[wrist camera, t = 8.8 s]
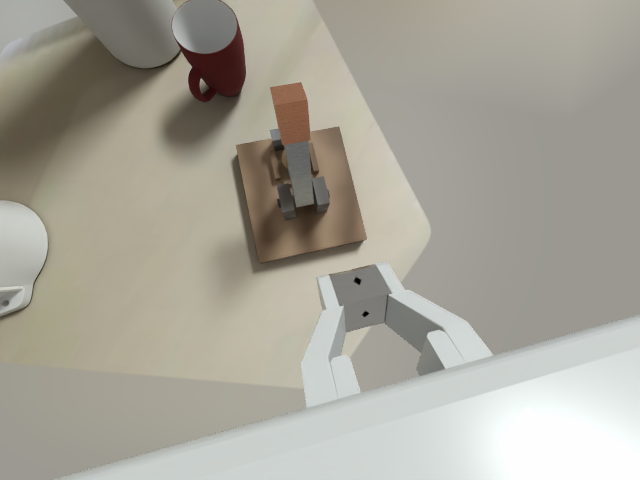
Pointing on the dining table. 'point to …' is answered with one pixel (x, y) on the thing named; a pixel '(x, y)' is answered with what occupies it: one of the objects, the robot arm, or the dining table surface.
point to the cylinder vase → (131, 28)
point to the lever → (295, 138)
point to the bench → (279, 204)
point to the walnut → (284, 159)
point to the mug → (210, 47)
